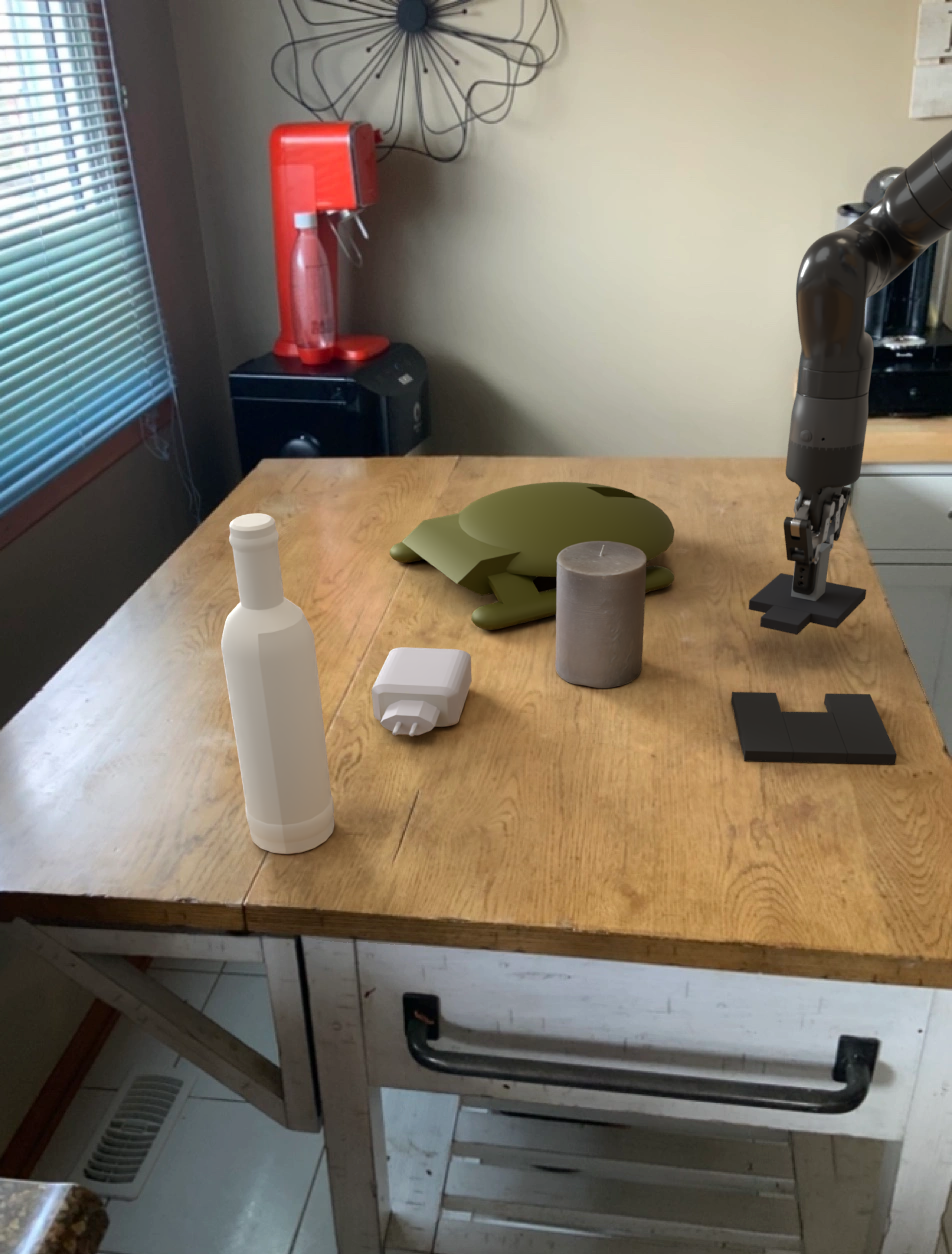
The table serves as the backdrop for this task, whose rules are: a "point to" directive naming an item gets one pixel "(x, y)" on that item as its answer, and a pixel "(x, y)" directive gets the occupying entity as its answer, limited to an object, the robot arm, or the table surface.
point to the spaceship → (533, 542)
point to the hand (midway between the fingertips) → (808, 586)
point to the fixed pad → (812, 730)
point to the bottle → (275, 699)
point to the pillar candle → (600, 613)
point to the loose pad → (806, 601)
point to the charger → (421, 689)
